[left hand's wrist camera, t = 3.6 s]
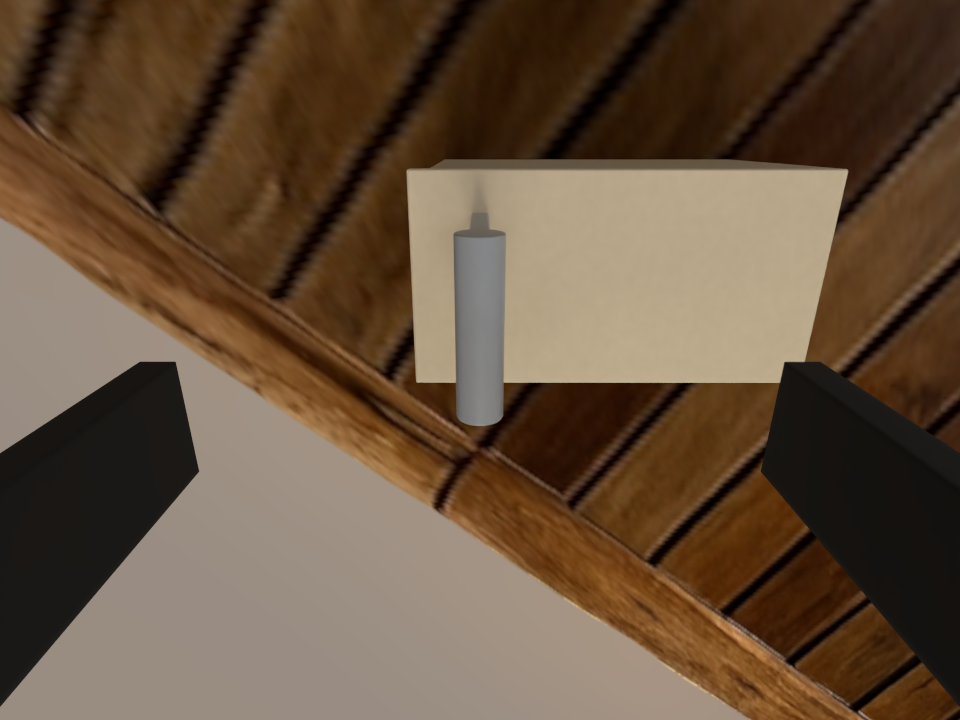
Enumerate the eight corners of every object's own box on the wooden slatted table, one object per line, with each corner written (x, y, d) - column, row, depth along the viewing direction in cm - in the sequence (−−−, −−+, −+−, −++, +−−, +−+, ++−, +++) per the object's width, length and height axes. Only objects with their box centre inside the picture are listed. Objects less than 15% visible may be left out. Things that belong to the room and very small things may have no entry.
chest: (447, 310, 36) (434, 375, 26) (444, 159, 33) (428, 168, 23) (705, 310, 36) (790, 375, 26) (728, 159, 33) (836, 168, 23)
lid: (417, 376, 26) (393, 466, 19) (408, 168, 23) (375, 181, 16) (791, 376, 26) (909, 466, 19) (837, 168, 23) (1002, 181, 16)
